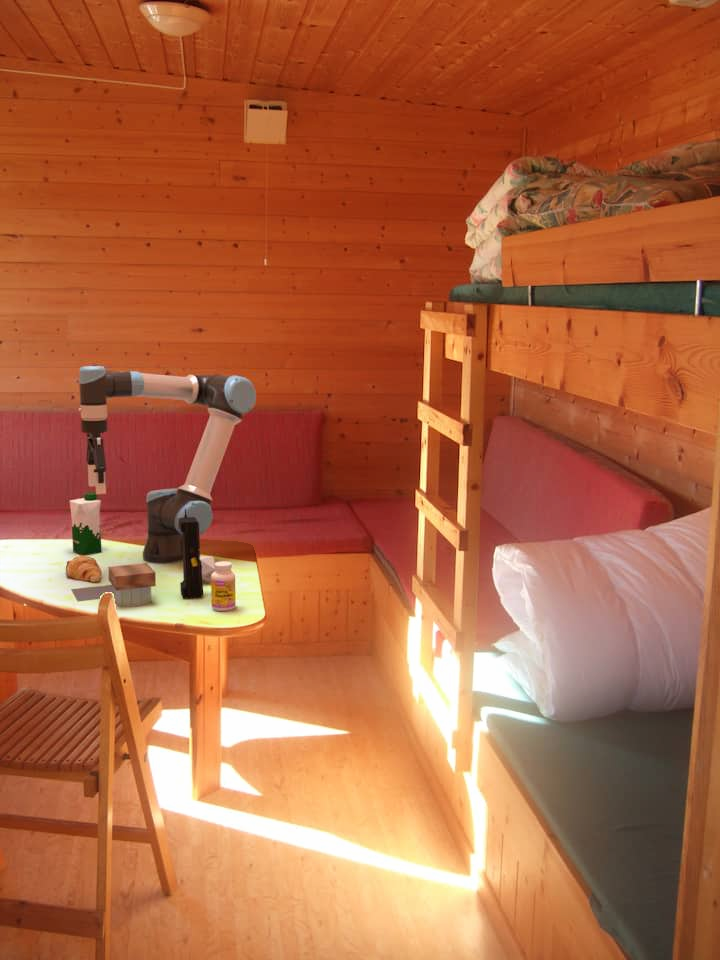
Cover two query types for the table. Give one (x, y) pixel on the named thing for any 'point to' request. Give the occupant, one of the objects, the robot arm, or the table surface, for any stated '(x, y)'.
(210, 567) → the die
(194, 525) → the portable radio
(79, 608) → the table surface
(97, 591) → the mat
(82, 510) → the milk carton
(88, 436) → the robot arm
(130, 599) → the bowl
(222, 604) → the supplement bottle
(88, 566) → the croissant
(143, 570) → the cover
